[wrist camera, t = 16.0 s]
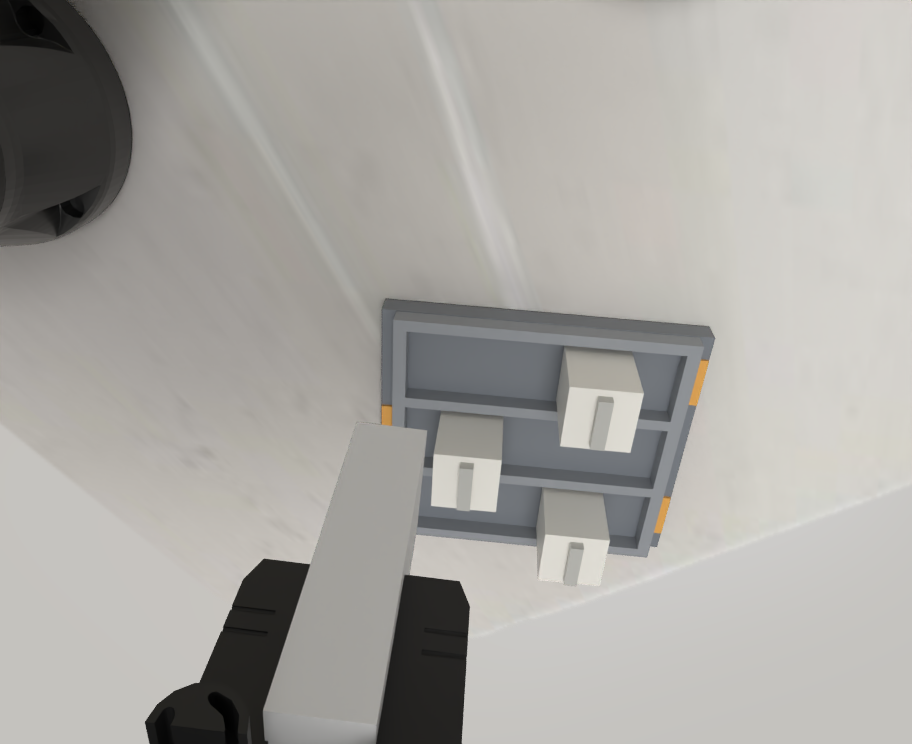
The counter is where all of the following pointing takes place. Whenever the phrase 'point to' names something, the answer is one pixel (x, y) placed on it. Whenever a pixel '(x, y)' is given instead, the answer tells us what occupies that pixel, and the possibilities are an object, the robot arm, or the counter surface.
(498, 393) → the switch bank
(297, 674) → the robot arm
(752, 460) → the counter surface
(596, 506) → the tab
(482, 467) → the tab
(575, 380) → the tab
